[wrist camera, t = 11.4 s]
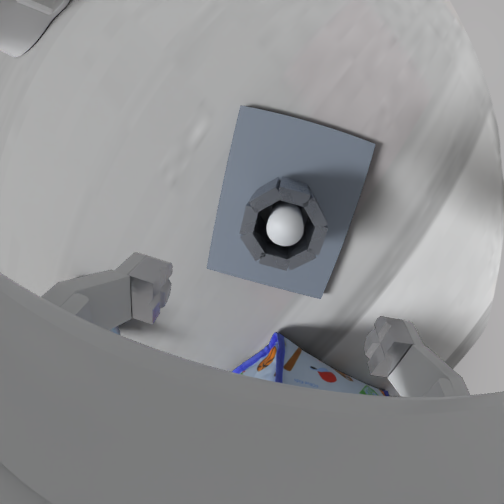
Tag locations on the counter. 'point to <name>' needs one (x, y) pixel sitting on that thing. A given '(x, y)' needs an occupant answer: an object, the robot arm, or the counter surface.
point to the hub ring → (256, 226)
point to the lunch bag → (300, 369)
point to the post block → (283, 213)
